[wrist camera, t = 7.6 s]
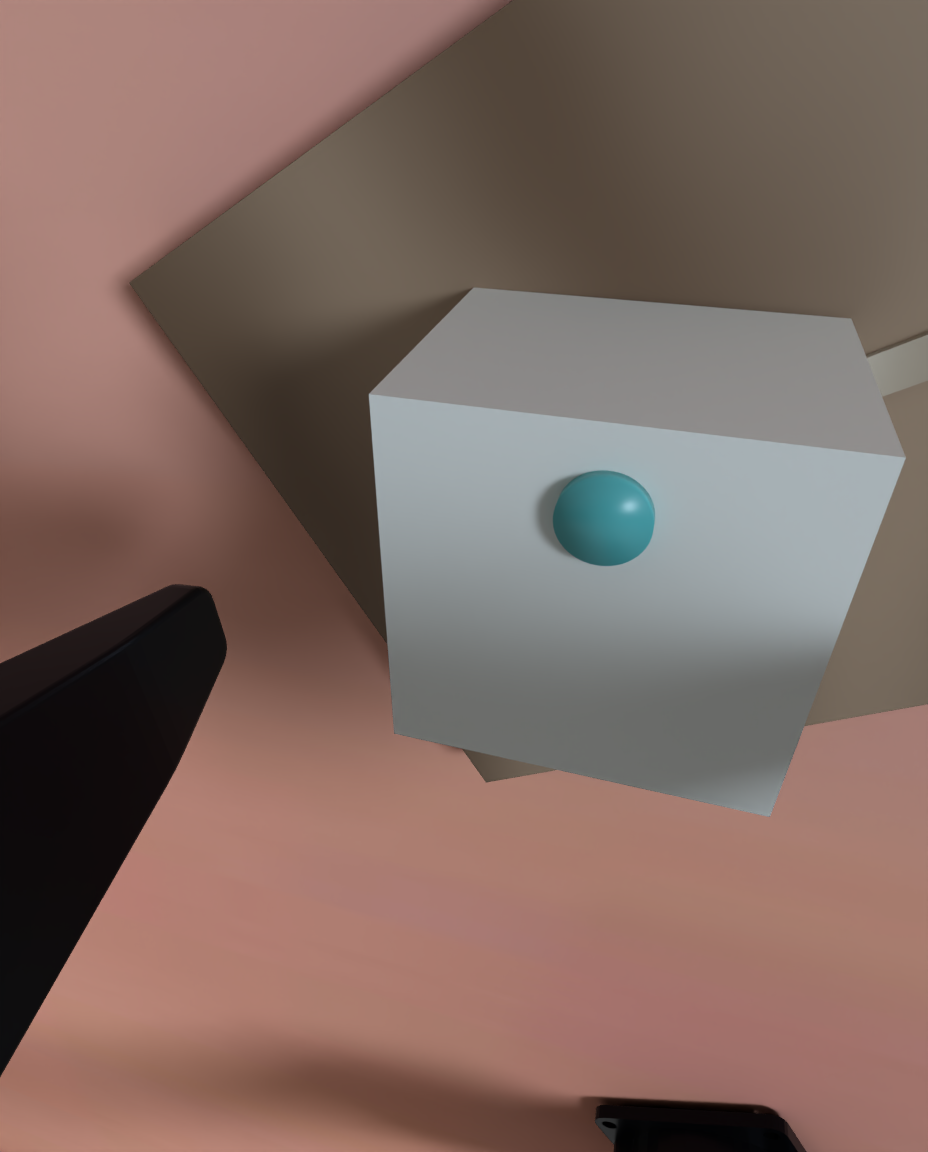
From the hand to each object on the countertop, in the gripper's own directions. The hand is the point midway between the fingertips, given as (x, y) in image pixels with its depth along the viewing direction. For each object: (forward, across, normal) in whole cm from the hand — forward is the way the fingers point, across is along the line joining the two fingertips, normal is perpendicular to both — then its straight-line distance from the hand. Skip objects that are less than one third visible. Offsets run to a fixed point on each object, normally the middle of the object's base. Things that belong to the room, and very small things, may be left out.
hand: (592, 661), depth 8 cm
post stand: (+6, 0, 0) cm, 6 cm away
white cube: (+5, 0, 0) cm, 5 cm away
